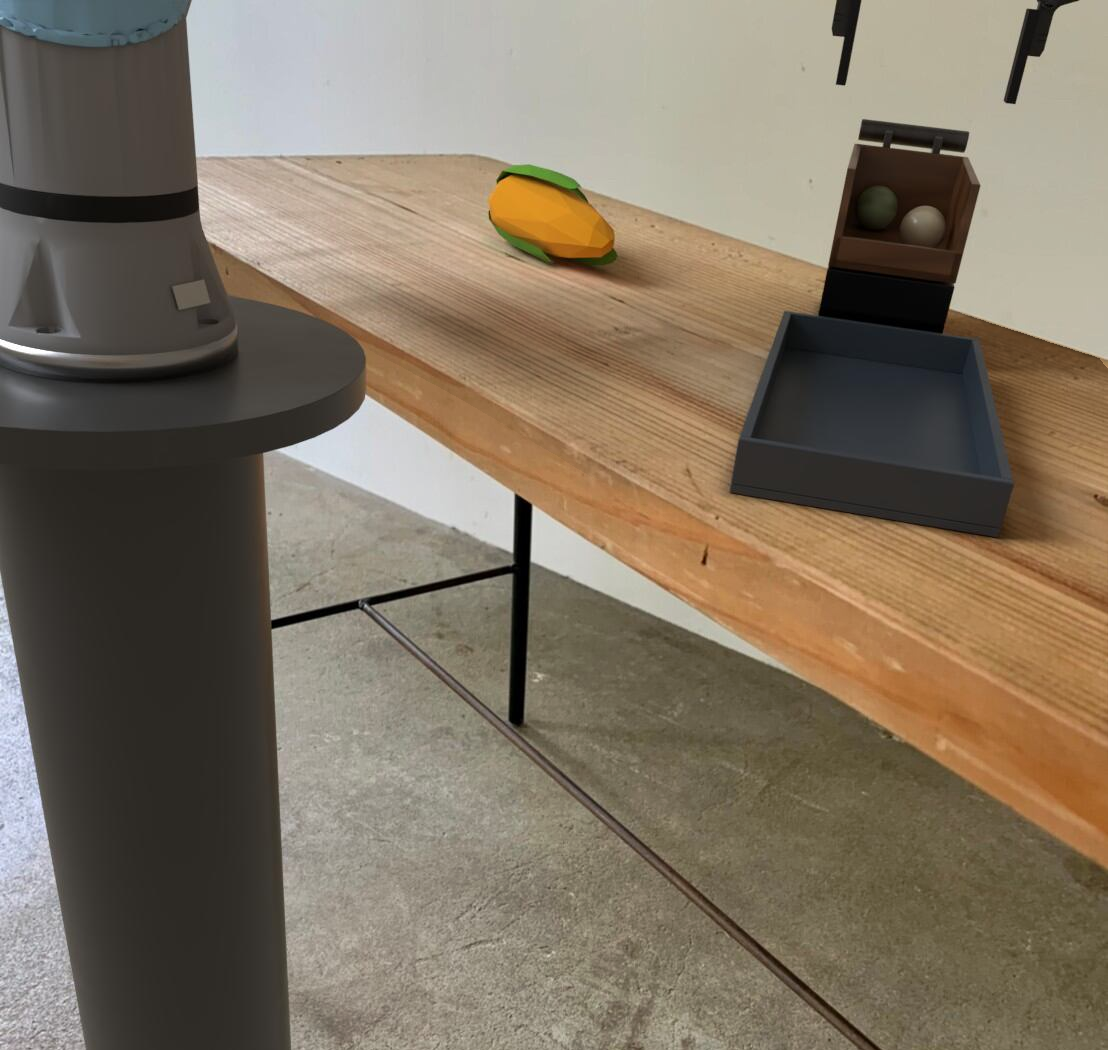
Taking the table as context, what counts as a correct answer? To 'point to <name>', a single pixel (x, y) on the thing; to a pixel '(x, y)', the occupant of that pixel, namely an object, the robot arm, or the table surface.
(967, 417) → the tray
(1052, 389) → the table surface
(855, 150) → the brown wooden tipping box
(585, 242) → the corn
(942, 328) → the stand
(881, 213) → the ball sage
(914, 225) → the ball ivory
